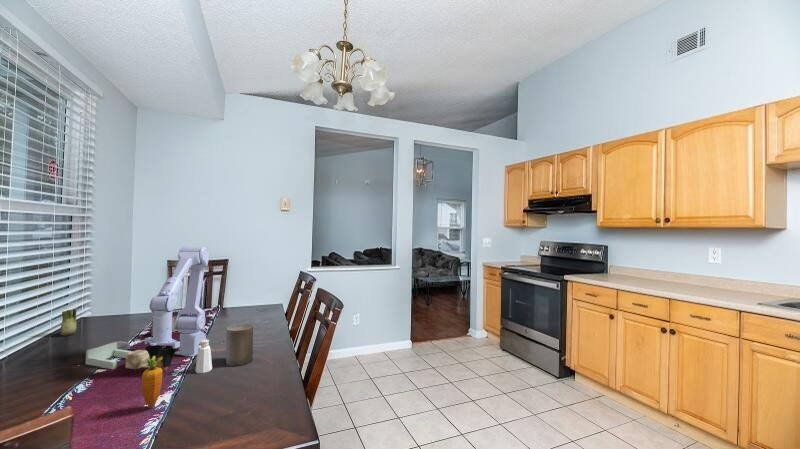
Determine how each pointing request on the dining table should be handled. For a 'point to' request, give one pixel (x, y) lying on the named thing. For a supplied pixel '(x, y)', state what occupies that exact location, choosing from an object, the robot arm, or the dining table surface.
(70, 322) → the fennel bulb
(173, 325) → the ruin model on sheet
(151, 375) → the carrot
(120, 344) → the stone block
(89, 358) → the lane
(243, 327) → the pillar candle
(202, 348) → the pepper shaker
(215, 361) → the dining table surface
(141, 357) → the tethered block
